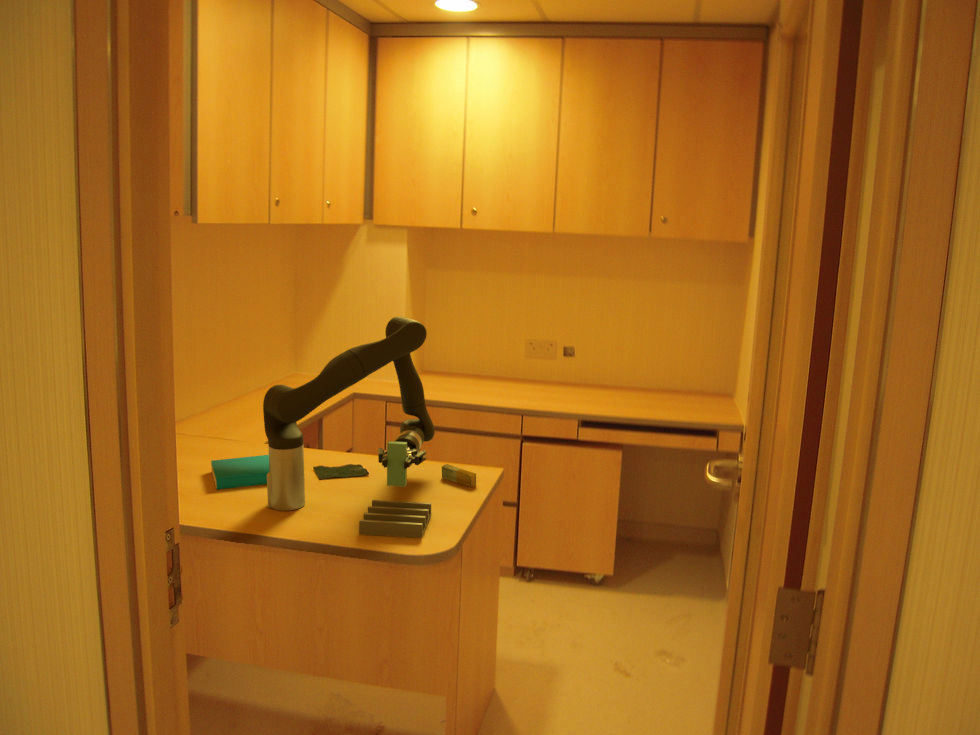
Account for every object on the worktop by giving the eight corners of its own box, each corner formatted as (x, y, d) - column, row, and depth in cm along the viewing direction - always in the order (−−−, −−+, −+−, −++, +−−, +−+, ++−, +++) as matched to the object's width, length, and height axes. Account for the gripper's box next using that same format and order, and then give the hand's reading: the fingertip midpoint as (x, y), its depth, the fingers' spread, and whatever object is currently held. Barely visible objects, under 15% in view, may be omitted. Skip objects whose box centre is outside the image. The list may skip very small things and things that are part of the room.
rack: (359, 534, 209) (359, 521, 208) (372, 511, 224) (372, 499, 223) (421, 538, 208) (421, 524, 207) (431, 515, 222) (431, 502, 222)
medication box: (441, 478, 251) (440, 465, 250) (447, 475, 253) (447, 463, 252) (470, 488, 244) (471, 475, 243) (476, 485, 246) (477, 472, 245)
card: (386, 485, 225) (387, 443, 223) (388, 483, 227) (388, 441, 225) (405, 486, 225) (405, 444, 222) (406, 484, 227) (407, 442, 224)
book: (210, 460, 251) (293, 450, 261) (211, 474, 252) (294, 463, 262) (216, 478, 236) (304, 467, 246) (217, 493, 237) (304, 481, 247)
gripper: (382, 432, 239) (368, 449, 222) (431, 435, 237) (421, 453, 221) (382, 457, 240) (368, 476, 223) (431, 460, 239) (421, 479, 222)
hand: (395, 464), depth 222 cm, fingers closed on card, 5 cm apart
